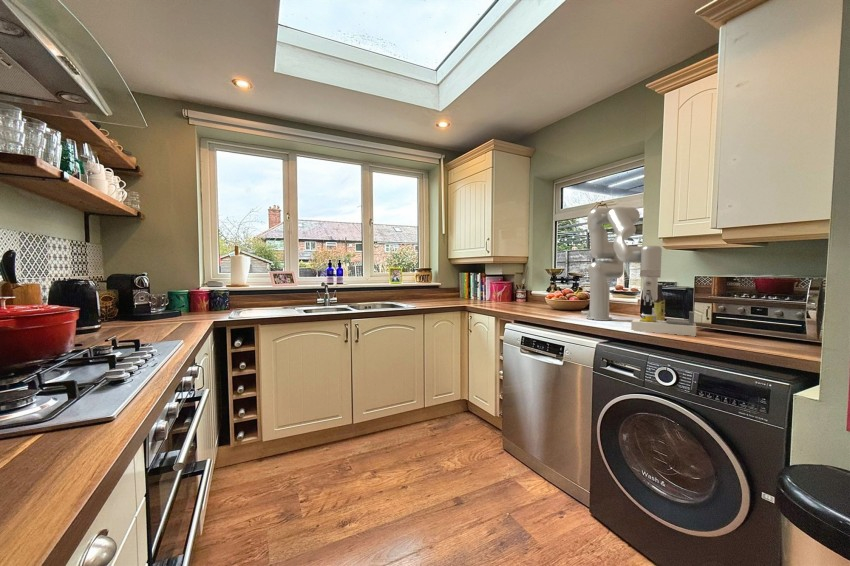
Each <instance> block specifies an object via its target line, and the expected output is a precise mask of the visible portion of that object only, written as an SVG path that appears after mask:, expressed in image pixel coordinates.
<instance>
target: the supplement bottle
mask: <svg viewBox="0 0 850 566" xmlns="http://www.w3.org/2000/svg"><path fill="white" fill-rule="evenodd" d="M654 312H655V308H652V315H646V314H643V312H642V313H641V319H642V322H654V323H656V317H657V316H656V314H655V313H654Z"/></svg>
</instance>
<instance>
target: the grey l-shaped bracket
mask: <svg viewBox="0 0 850 566" xmlns="http://www.w3.org/2000/svg"><path fill="white" fill-rule="evenodd" d="M688 315H689V316H688V320H687V319H684V320H683V319H670V318H667V319H666V320H665V321H666V323H674V324H687V325H693V324H694V323H695V322H694V311H691V310H690V311H688Z"/></svg>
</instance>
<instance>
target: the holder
mask: <svg viewBox="0 0 850 566" xmlns="http://www.w3.org/2000/svg"><path fill="white" fill-rule="evenodd" d="M693 323H694V324H693V325H687V324H674V323H666V320H664V321H659V320H656V323H654V322H642V318H634V319H633V320H631V323H630V325H631V326H630V331H631V330H634V332H641V331H646V332H645V333H652V332H655V333H656V334H663V333H668V334H667V335H674V334H677V335H676V336H684V335H692V336H691V337H695V336H696V337H697V324H696V322H693Z"/></svg>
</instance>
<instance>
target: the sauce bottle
mask: <svg viewBox="0 0 850 566" xmlns="http://www.w3.org/2000/svg"><path fill="white" fill-rule="evenodd" d="M652 304H653V303H652ZM654 308H655V312H654V313H655V314H656V316H657V317H656V320H659V321H666V320H665V318H666V314H665V313H666V312H665V310H666V298H665V297H664V293H663V283H658V299H657V300H656V301H654Z"/></svg>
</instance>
